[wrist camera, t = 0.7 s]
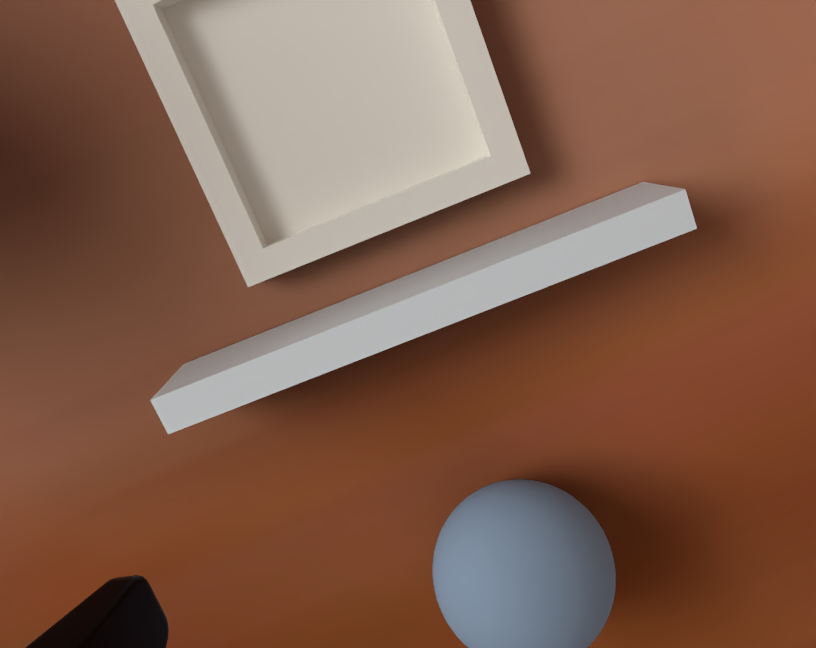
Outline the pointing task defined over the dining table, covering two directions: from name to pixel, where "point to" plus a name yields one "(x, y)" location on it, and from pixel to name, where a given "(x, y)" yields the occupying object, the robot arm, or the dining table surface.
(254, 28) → the coaster
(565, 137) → the dining table surface
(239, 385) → the wall
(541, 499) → the ball
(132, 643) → the robot arm
